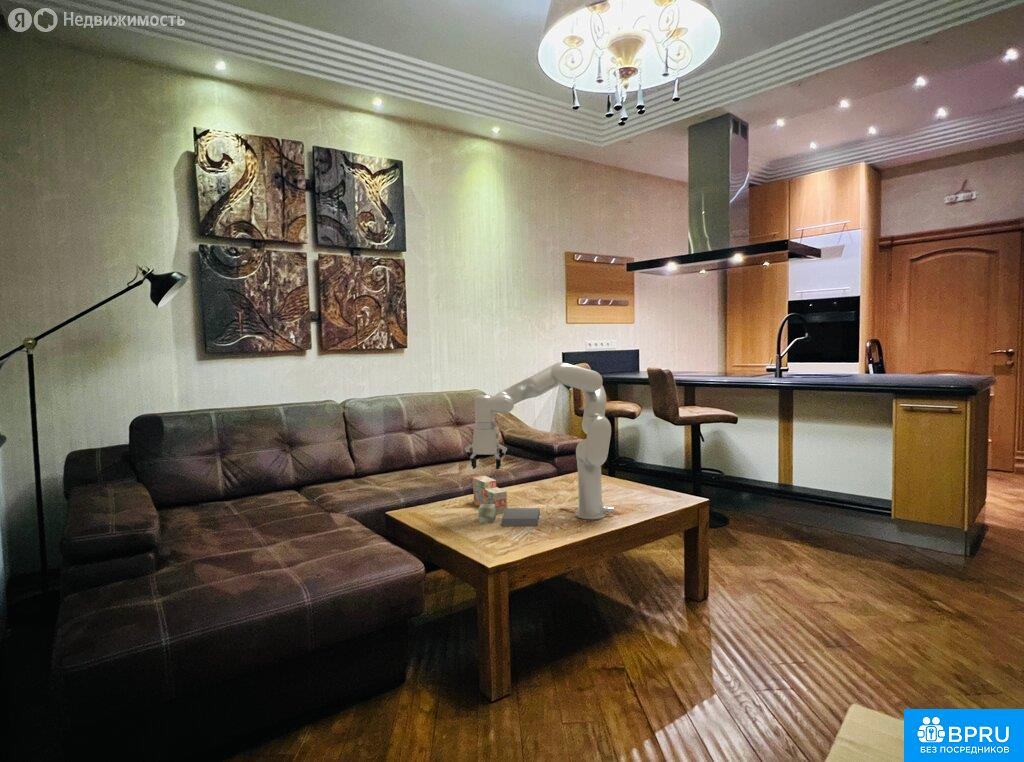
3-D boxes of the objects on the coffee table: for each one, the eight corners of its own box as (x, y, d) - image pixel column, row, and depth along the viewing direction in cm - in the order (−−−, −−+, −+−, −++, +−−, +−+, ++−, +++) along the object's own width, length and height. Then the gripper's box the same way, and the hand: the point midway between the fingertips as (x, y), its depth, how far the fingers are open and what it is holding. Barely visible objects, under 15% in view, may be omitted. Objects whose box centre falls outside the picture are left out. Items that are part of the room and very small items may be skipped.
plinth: (539, 515, 229) (539, 508, 228) (537, 526, 215) (536, 518, 215) (506, 515, 230) (506, 508, 230) (501, 525, 217) (501, 518, 216)
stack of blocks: (507, 512, 234) (506, 484, 234) (494, 515, 231) (493, 486, 231) (485, 501, 253) (484, 475, 252) (473, 503, 250) (472, 476, 249)
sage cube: (495, 518, 227) (495, 504, 227) (493, 522, 221) (493, 508, 221) (481, 518, 228) (481, 504, 227) (478, 522, 222) (478, 508, 221)
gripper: (508, 424, 219) (509, 466, 220) (466, 424, 223) (468, 466, 224) (504, 427, 212) (505, 471, 213) (461, 427, 216) (462, 470, 217)
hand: (486, 468), depth 218 cm, fingers open, 9 cm apart
